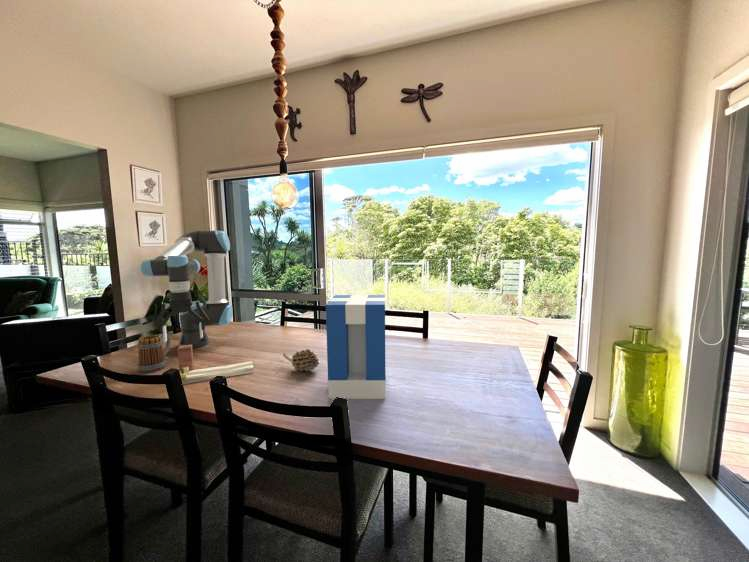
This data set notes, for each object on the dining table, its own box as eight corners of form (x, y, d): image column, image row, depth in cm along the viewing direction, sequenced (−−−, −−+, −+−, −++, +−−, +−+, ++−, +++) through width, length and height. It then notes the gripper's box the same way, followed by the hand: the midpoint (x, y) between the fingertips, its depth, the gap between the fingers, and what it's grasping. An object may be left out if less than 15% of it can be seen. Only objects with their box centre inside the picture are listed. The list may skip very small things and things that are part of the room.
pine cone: (324, 369, 141) (324, 348, 140) (310, 378, 133) (310, 355, 132) (288, 361, 152) (287, 341, 150) (273, 368, 143) (272, 347, 142)
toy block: (337, 374, 136) (334, 295, 132) (385, 374, 135) (384, 294, 131) (328, 398, 115) (325, 304, 111) (385, 398, 114) (384, 304, 110)
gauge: (181, 372, 140) (179, 346, 138) (194, 370, 142) (192, 344, 140) (175, 385, 127) (173, 356, 125) (189, 382, 129) (187, 354, 127)
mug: (152, 374, 139) (148, 341, 137) (132, 372, 141) (129, 340, 139) (180, 361, 154) (177, 331, 152) (162, 359, 156) (159, 330, 154)
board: (178, 376, 135) (177, 372, 135) (252, 365, 147) (252, 361, 147) (174, 385, 127) (174, 380, 127) (253, 372, 139) (253, 368, 139)
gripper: (142, 294, 126) (147, 345, 128) (212, 290, 136) (215, 337, 138) (147, 292, 133) (151, 340, 135) (213, 288, 143) (216, 333, 145)
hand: (183, 339), depth 137 cm, fingers open, 13 cm apart
